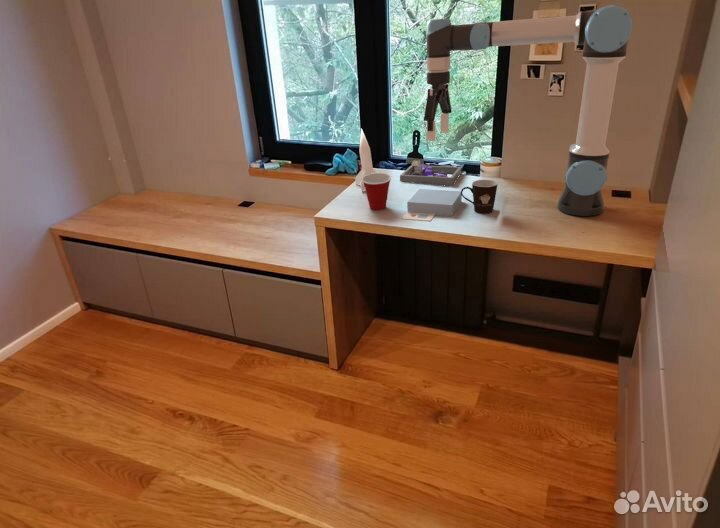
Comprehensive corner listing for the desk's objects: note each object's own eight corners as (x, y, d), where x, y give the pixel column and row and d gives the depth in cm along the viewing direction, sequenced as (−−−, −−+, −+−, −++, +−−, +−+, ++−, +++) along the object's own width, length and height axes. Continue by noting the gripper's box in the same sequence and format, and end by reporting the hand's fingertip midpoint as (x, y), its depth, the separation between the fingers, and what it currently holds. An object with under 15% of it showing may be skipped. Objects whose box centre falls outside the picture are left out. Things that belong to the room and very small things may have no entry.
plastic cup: (359, 213, 189) (357, 180, 184) (367, 203, 198) (365, 172, 193) (389, 214, 186) (388, 181, 181) (395, 204, 195) (394, 173, 190)
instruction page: (435, 214, 183) (435, 213, 183) (430, 221, 177) (430, 220, 177) (408, 212, 186) (407, 211, 186) (402, 218, 181) (402, 218, 181)
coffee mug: (499, 208, 185) (501, 181, 180) (491, 216, 178) (492, 188, 174) (468, 204, 190) (469, 177, 186) (459, 211, 184) (459, 184, 180)
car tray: (461, 176, 224) (461, 167, 222) (452, 187, 210) (452, 178, 208) (411, 173, 232) (411, 165, 230) (400, 184, 218) (399, 175, 216)
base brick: (461, 201, 194) (461, 191, 192) (452, 216, 180) (452, 205, 179) (419, 198, 199) (419, 188, 198) (407, 212, 186) (407, 202, 184)
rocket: (356, 186, 216) (346, 127, 205) (378, 181, 218) (369, 123, 207) (361, 193, 208) (352, 132, 197) (384, 188, 209) (376, 127, 198)
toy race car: (444, 186, 214) (445, 170, 211) (411, 183, 220) (410, 168, 218) (452, 179, 221) (452, 164, 219) (419, 177, 228) (419, 162, 225)
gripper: (440, 67, 182) (439, 129, 191) (413, 75, 162) (414, 143, 171) (461, 66, 179) (459, 129, 188) (436, 75, 159) (436, 144, 168)
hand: (438, 136), depth 179 cm, fingers open, 13 cm apart
